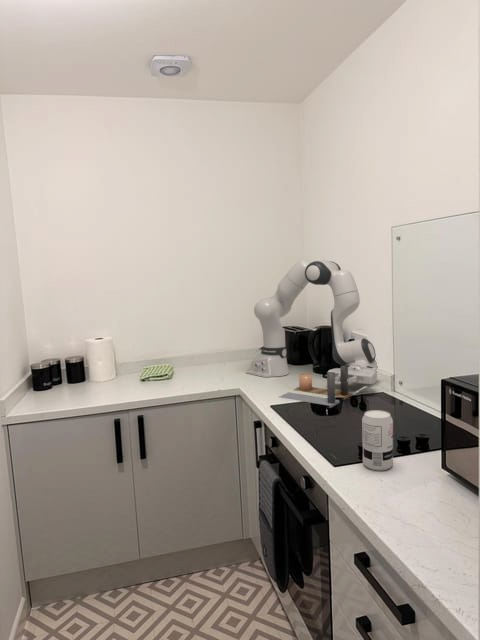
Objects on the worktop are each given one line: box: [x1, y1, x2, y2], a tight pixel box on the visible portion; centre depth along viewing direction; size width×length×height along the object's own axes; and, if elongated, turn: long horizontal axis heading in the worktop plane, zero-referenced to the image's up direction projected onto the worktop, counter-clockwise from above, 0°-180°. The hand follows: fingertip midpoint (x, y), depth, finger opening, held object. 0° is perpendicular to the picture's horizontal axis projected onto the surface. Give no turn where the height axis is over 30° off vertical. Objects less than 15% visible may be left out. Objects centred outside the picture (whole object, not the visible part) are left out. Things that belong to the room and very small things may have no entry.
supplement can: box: [361, 409, 394, 472], centre depth 137 cm, size 8×8×15 cm
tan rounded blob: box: [298, 373, 313, 391], centre depth 214 cm, size 6×6×6 cm
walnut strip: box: [293, 365, 353, 401], centre depth 209 cm, size 24×8×13 cm, turn 52°
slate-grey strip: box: [278, 371, 340, 409], centre depth 200 cm, size 24×8×13 cm, turn 52°
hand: (343, 380), depth 202 cm, fingers closed on walnut strip, 3 cm apart
